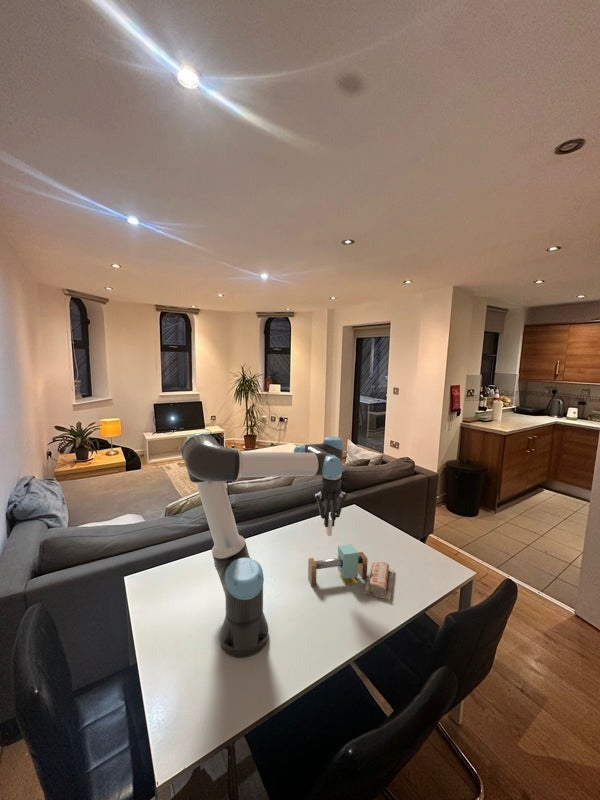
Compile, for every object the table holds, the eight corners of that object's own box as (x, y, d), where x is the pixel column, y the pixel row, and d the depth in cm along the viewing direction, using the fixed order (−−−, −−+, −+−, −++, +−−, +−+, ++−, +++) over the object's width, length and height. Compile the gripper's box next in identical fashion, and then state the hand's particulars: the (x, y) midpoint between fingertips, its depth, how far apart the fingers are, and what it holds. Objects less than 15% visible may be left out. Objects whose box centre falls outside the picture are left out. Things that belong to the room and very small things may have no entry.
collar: (351, 566, 138) (351, 544, 138) (357, 576, 132) (358, 552, 131) (337, 568, 137) (338, 545, 136) (343, 578, 130) (344, 554, 130)
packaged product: (391, 589, 122) (364, 583, 125) (390, 601, 122) (363, 594, 125) (394, 561, 138) (370, 557, 142) (394, 572, 139) (370, 567, 142)
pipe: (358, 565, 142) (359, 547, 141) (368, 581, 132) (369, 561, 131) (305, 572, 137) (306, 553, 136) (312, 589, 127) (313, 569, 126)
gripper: (343, 472, 133) (340, 528, 136) (312, 474, 130) (310, 530, 133) (350, 479, 126) (347, 537, 128) (318, 480, 123) (315, 540, 125)
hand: (328, 534), depth 131 cm, fingers closed
